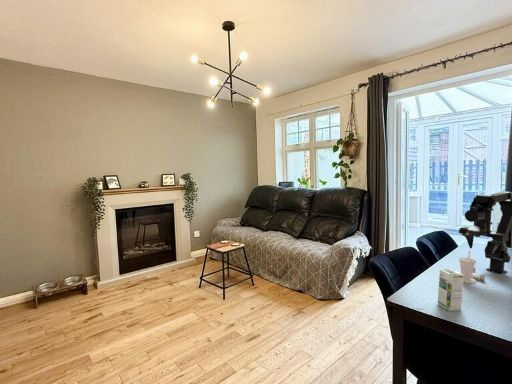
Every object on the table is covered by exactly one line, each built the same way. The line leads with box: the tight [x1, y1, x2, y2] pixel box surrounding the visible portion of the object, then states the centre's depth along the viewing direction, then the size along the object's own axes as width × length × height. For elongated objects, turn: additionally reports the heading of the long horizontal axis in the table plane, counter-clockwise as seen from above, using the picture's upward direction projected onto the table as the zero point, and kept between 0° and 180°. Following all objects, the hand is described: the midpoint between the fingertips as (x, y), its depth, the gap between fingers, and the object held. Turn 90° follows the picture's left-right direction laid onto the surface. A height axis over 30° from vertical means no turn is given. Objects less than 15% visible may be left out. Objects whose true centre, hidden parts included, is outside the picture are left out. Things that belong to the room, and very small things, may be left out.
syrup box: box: [437, 268, 464, 312], centre depth 107 cm, size 6×6×14 cm
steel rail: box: [471, 267, 486, 283], centre depth 136 cm, size 7×9×3 cm
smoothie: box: [458, 250, 477, 280], centre depth 132 cm, size 6×6×14 cm
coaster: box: [463, 278, 478, 284], centre depth 133 cm, size 8×8×1 cm
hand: (481, 250), depth 136 cm, fingers open, 9 cm apart
